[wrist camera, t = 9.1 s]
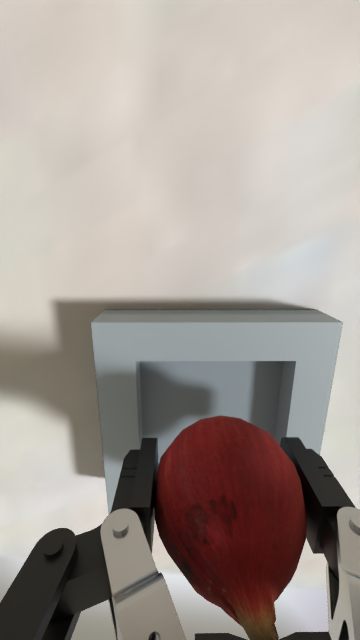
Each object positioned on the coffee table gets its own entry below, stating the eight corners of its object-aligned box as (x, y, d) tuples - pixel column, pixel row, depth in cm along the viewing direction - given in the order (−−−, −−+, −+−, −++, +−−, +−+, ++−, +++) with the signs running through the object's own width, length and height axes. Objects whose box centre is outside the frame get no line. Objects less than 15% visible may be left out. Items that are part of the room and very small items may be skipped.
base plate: (104, 309, 15) (90, 322, 13) (317, 309, 15) (342, 322, 13) (117, 480, 19) (108, 515, 16) (292, 479, 19) (309, 514, 16)
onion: (156, 471, 15) (134, 706, 8) (164, 379, 14) (148, 557, 6) (258, 478, 15) (339, 713, 8) (278, 388, 14) (405, 572, 6)
